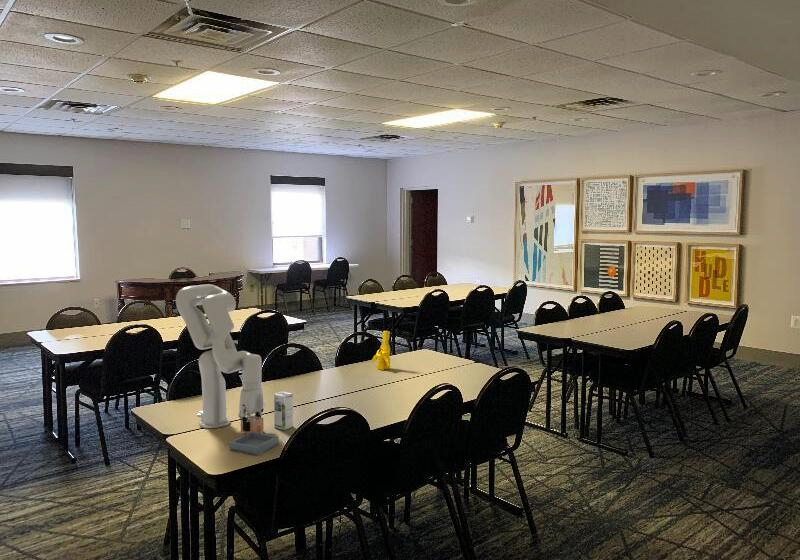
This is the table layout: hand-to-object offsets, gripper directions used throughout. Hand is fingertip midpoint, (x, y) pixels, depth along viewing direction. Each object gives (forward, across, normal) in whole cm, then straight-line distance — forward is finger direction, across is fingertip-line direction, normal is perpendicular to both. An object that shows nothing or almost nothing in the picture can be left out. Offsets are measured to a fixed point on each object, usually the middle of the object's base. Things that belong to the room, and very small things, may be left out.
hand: (252, 427), depth 247 cm
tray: (+2, +12, +11) cm, 16 cm away
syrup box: (+2, -11, +8) cm, 14 cm away
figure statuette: (+3, -117, +1) cm, 117 cm away
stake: (+2, 0, +1) cm, 2 cm away
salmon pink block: (+1, 0, 0) cm, 1 cm away
